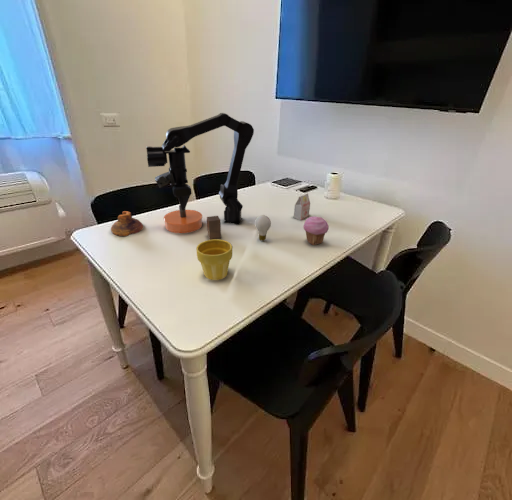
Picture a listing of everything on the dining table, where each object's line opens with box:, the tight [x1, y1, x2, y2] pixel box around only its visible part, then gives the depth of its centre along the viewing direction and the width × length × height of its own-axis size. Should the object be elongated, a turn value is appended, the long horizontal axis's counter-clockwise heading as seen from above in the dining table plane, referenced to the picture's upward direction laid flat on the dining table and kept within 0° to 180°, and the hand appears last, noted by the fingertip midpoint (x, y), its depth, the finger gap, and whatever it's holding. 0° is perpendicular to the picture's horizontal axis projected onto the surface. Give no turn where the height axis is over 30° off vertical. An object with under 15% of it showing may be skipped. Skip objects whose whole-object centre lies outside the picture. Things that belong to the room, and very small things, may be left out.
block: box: [206, 215, 222, 240], centre depth 112 cm, size 4×4×8 cm
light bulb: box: [254, 214, 272, 242], centre depth 110 cm, size 6×6×10 cm
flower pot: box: [195, 239, 233, 281], centre depth 90 cm, size 10×10×10 cm
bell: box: [110, 210, 144, 237], centre depth 117 cm, size 12×12×7 cm
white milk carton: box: [293, 193, 311, 221], centre depth 132 cm, size 4×7×10 cm, turn 139°
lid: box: [163, 204, 203, 225], centre depth 119 cm, size 15×15×6 cm
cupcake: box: [302, 215, 330, 246], centre depth 110 cm, size 9×9×10 cm
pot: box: [164, 218, 203, 234], centre depth 121 cm, size 14×14×4 cm
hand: (181, 205), depth 118 cm, fingers open, 9 cm apart
